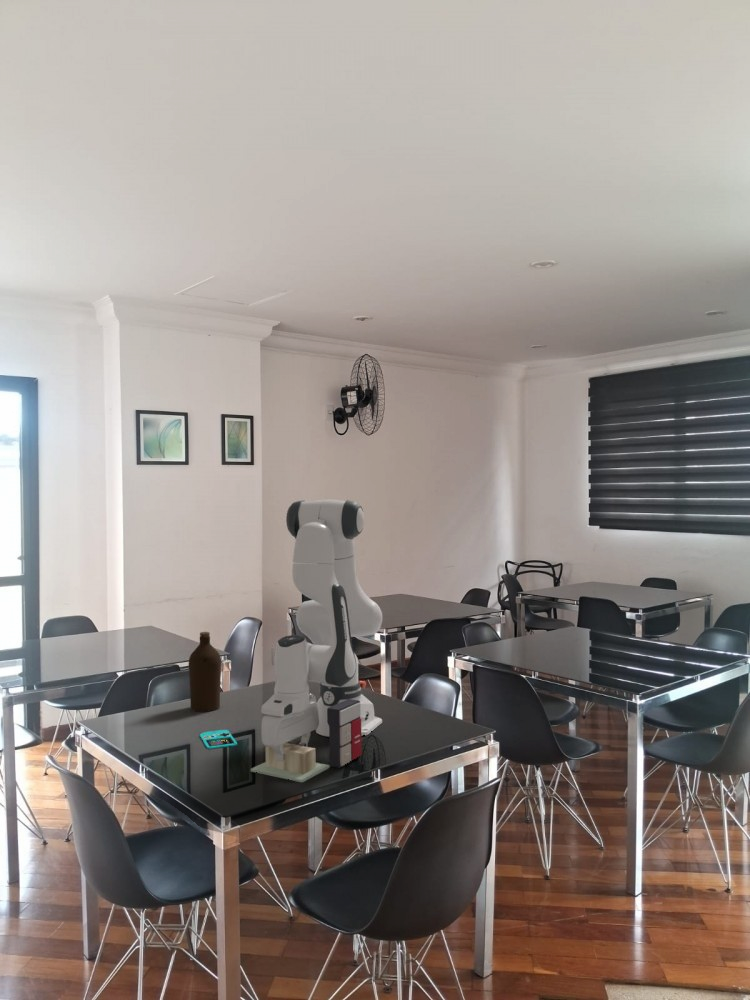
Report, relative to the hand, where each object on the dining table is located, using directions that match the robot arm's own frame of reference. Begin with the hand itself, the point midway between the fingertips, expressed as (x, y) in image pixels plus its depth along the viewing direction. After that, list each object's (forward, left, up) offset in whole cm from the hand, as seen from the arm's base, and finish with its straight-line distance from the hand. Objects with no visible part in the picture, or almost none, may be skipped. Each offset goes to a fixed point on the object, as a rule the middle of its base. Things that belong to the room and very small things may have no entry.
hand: (292, 755), depth 198 cm
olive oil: (-34, -61, -4) cm, 70 cm away
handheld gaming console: (-10, -34, -4) cm, 35 cm away
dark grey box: (-12, +8, -4) cm, 15 cm away
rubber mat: (0, -1, -4) cm, 4 cm away
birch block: (0, -6, -1) cm, 7 cm away
